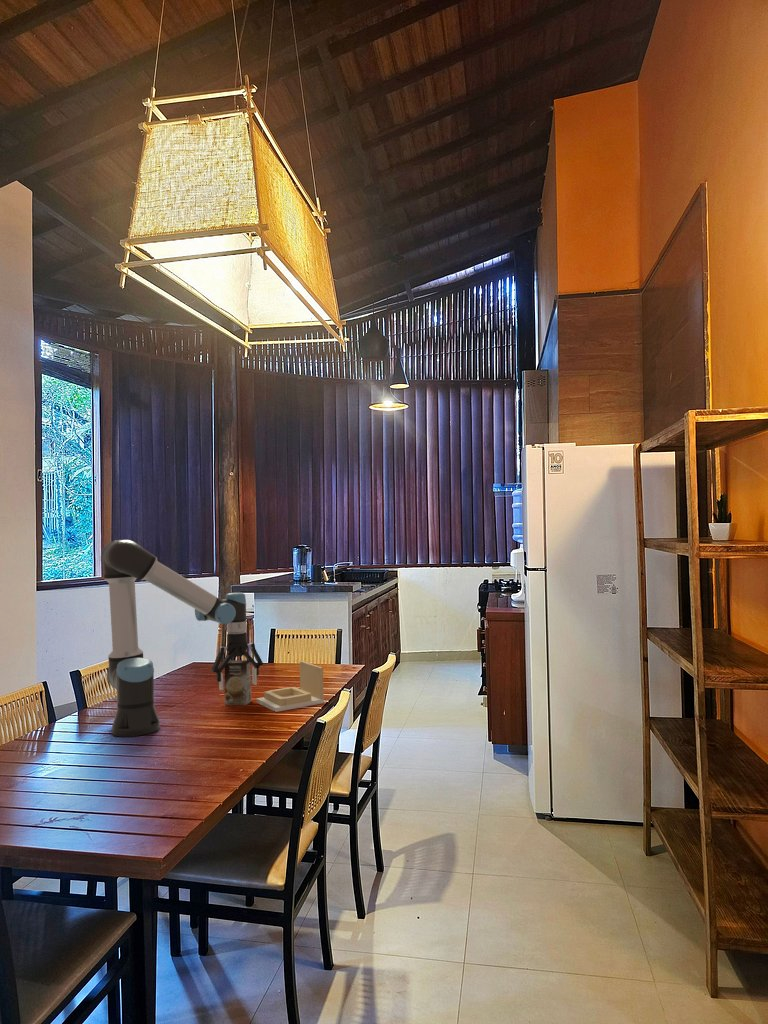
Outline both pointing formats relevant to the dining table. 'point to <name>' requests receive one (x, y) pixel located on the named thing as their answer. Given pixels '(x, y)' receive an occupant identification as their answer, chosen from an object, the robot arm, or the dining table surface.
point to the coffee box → (238, 682)
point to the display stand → (297, 691)
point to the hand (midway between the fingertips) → (238, 687)
